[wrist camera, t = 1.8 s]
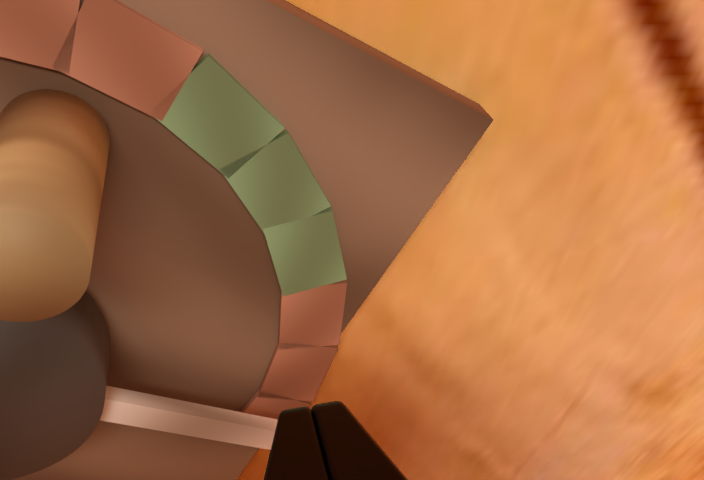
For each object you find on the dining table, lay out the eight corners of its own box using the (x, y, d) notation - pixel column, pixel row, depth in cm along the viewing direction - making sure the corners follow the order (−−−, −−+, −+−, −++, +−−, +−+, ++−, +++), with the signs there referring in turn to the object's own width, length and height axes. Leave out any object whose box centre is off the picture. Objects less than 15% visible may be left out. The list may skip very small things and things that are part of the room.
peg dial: (-198, 403, 18) (-301, 584, 14) (-109, 23, 13) (-228, 136, 9) (247, 472, 24) (263, 610, 20) (420, 231, 19) (485, 352, 15)
